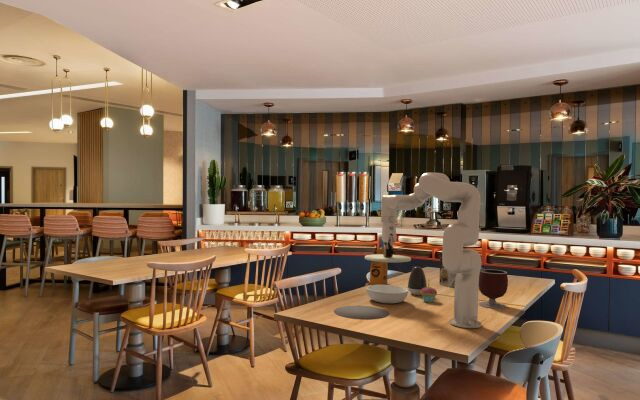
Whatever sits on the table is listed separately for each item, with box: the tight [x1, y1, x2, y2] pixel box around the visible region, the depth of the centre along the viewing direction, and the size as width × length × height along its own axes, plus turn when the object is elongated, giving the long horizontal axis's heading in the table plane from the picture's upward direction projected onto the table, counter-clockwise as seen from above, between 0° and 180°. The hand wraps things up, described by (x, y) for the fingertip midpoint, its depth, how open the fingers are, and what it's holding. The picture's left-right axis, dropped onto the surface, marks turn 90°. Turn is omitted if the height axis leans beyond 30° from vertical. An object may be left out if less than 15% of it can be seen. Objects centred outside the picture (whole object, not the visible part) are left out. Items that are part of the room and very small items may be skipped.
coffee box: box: [438, 257, 457, 288], centre depth 280 cm, size 9×6×16 cm
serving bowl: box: [366, 284, 409, 304], centre depth 232 cm, size 21×21×7 cm
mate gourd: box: [478, 266, 509, 310], centre depth 229 cm, size 16×14×20 cm
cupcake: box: [420, 279, 438, 303], centre depth 236 cm, size 9×8×12 cm
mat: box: [333, 305, 390, 321], centre depth 208 cm, size 25×25×1 cm
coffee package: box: [369, 247, 389, 286], centre depth 278 cm, size 10×12×22 cm
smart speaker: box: [407, 266, 428, 296], centre depth 253 cm, size 10×10×15 cm
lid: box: [364, 244, 412, 263], centre depth 231 cm, size 23×23×7 cm
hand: (387, 255), depth 231 cm, fingers closed on lid, 4 cm apart
